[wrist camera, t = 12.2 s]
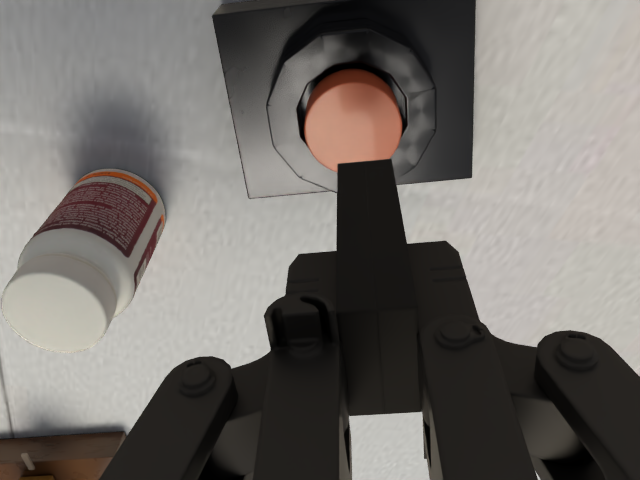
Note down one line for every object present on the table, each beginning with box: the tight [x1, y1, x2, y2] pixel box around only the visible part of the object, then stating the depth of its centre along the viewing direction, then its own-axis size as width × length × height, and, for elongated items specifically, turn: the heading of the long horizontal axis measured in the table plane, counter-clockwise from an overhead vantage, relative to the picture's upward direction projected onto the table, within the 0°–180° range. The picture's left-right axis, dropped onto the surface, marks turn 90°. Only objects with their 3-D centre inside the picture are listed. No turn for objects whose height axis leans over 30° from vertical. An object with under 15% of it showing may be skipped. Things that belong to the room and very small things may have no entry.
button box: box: [212, 0, 476, 199], centre depth 25 cm, size 10×8×4 cm
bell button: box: [304, 69, 402, 172], centre depth 23 cm, size 4×4×2 cm
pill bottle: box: [1, 169, 166, 353], centre depth 26 cm, size 5×5×8 cm
